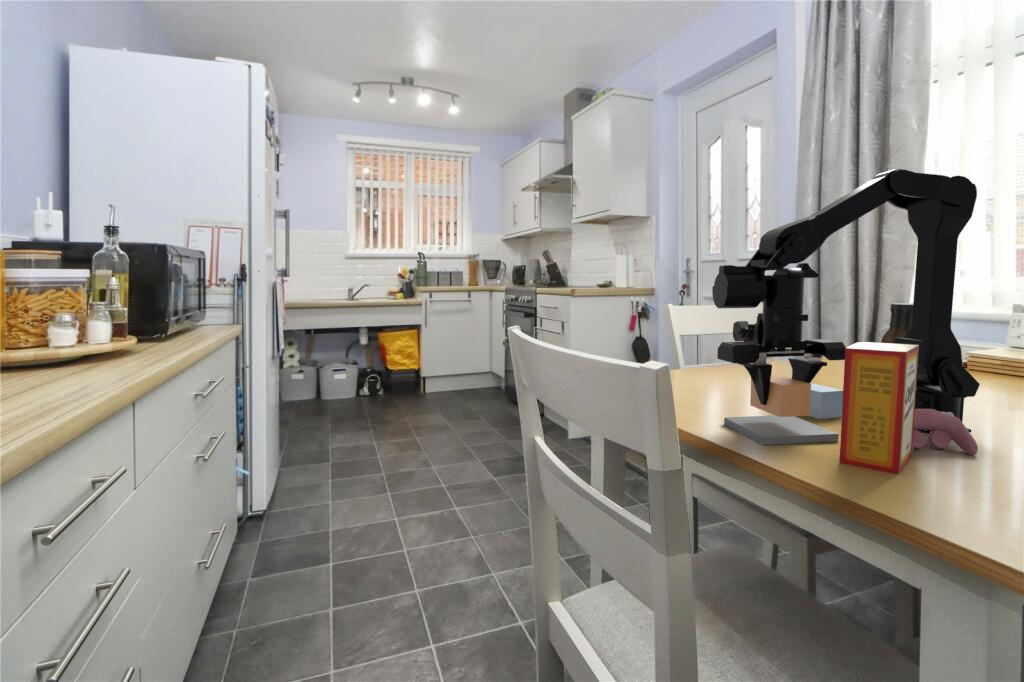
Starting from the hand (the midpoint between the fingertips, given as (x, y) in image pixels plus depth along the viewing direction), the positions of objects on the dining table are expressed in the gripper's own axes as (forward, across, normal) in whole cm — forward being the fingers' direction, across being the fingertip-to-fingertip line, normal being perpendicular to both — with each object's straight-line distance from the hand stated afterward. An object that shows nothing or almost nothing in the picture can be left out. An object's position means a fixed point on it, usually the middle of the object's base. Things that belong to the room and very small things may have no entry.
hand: (779, 403), depth 85 cm
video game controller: (+5, -16, +12) cm, 20 cm away
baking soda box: (+5, -5, +14) cm, 16 cm away
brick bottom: (+1, 0, 0) cm, 1 cm away
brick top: (+5, -14, -11) cm, 18 cm away
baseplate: (+5, 0, 0) cm, 5 cm away
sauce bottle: (+5, -32, -13) cm, 35 cm away
